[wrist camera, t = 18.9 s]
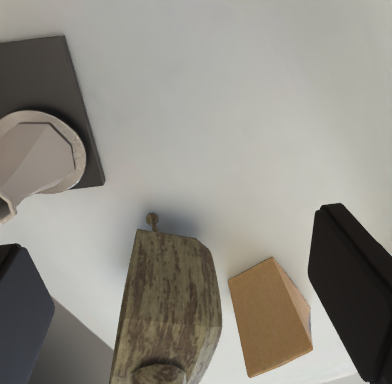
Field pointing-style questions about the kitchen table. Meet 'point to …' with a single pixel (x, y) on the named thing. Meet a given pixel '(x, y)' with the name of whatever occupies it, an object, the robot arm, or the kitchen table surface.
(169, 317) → the tabletop clock
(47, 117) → the weighing pan
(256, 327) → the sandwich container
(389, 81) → the kitchen table surface
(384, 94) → the kitchen table surface
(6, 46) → the scale
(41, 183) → the flask
